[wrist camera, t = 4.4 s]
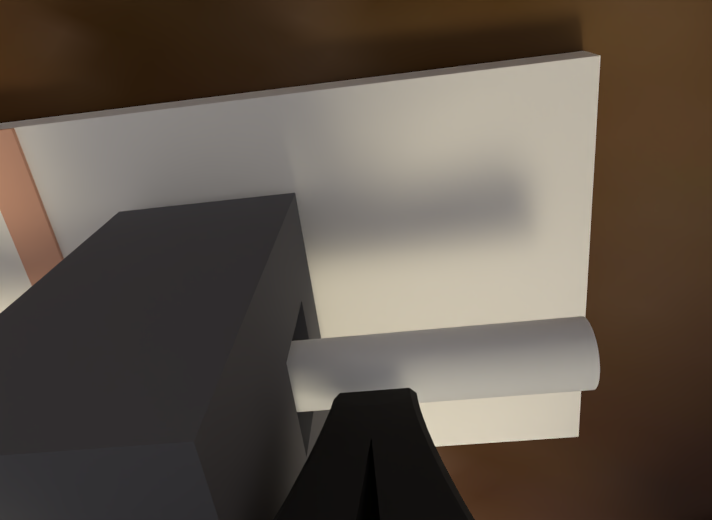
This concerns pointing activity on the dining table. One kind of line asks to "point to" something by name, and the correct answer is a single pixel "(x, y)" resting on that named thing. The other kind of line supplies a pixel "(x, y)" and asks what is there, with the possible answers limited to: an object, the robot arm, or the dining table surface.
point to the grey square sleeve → (161, 369)
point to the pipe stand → (370, 224)
